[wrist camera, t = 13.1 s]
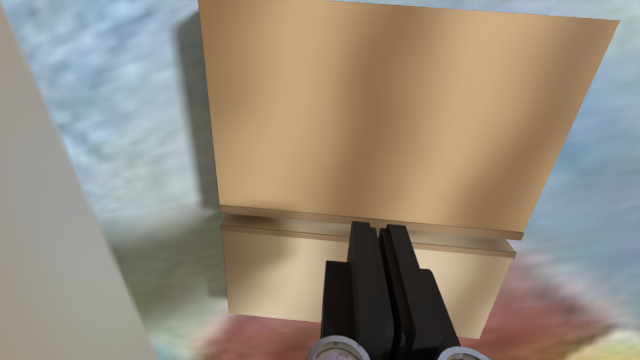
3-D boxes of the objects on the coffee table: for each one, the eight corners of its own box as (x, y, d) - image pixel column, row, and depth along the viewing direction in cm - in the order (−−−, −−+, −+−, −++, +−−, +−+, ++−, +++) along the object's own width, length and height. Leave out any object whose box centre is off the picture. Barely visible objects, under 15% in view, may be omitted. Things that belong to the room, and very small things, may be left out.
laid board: (496, 227, 17) (516, 253, 15) (466, 309, 19) (479, 340, 17) (234, 203, 17) (220, 225, 15) (239, 287, 20) (228, 314, 18)
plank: (581, 19, 12) (622, 20, 10) (501, 215, 16) (521, 240, 14) (217, -6, 12) (195, -9, 11) (232, 191, 17) (219, 212, 15)
